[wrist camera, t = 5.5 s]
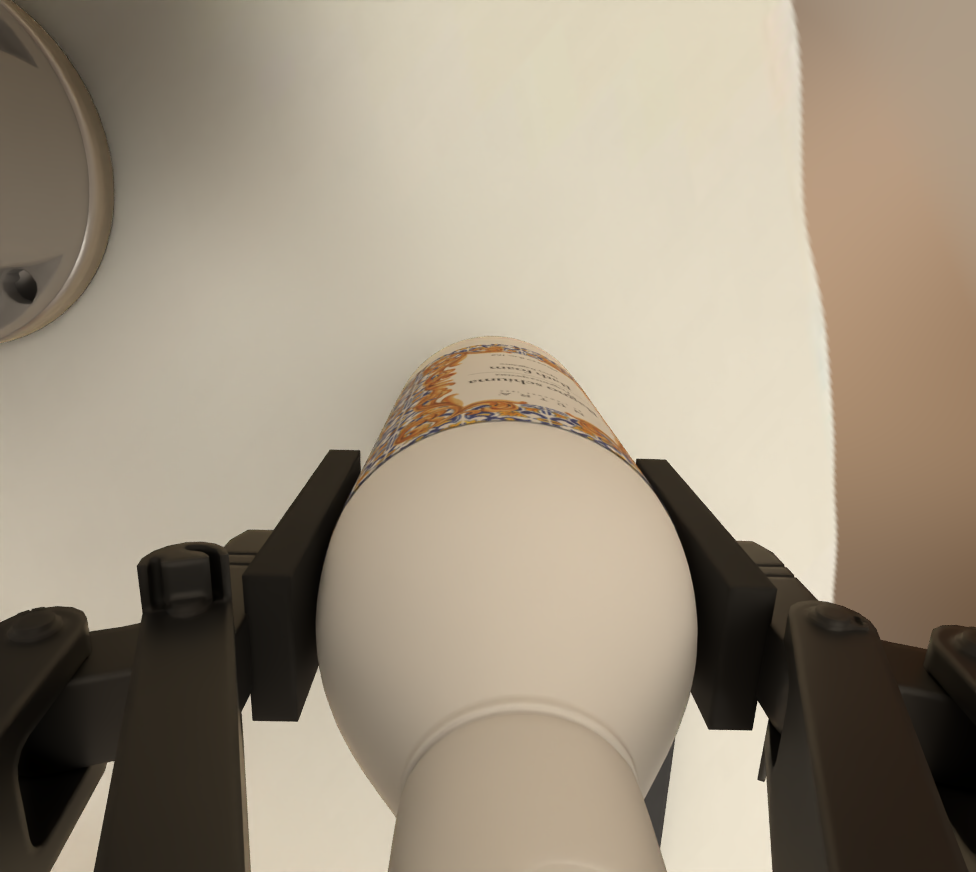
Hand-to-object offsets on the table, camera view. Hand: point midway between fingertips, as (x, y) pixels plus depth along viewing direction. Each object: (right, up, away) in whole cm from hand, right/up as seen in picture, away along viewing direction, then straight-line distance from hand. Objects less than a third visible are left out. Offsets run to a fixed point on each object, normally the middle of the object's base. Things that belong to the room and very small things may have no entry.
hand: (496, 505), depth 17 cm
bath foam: (0, +2, +7) cm, 7 cm away
